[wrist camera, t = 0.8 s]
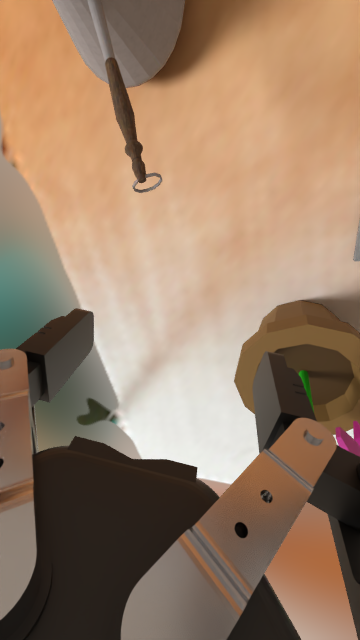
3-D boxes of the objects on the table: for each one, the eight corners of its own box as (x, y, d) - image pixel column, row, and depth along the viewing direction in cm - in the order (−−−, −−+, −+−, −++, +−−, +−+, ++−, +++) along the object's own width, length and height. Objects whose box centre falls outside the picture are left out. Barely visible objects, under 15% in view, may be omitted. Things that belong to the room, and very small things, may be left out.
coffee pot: (64, -10, 26) (-127, -173, 14) (160, -122, 21) (-4, -540, 9) (156, 204, 33) (85, 223, 21) (246, 158, 28) (221, 146, 16)
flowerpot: (383, 354, 33) (700, 895, 8) (277, 390, 41) (279, 735, 16) (325, 261, 31) (545, 662, 6) (223, 318, 38) (120, 600, 13)
